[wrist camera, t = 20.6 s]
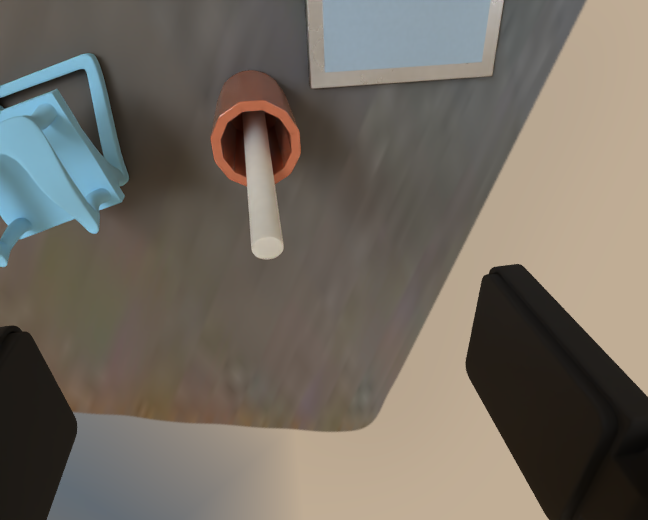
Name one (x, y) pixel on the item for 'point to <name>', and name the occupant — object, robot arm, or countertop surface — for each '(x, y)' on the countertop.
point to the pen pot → (227, 129)
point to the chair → (56, 158)
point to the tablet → (400, 40)
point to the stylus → (261, 188)
